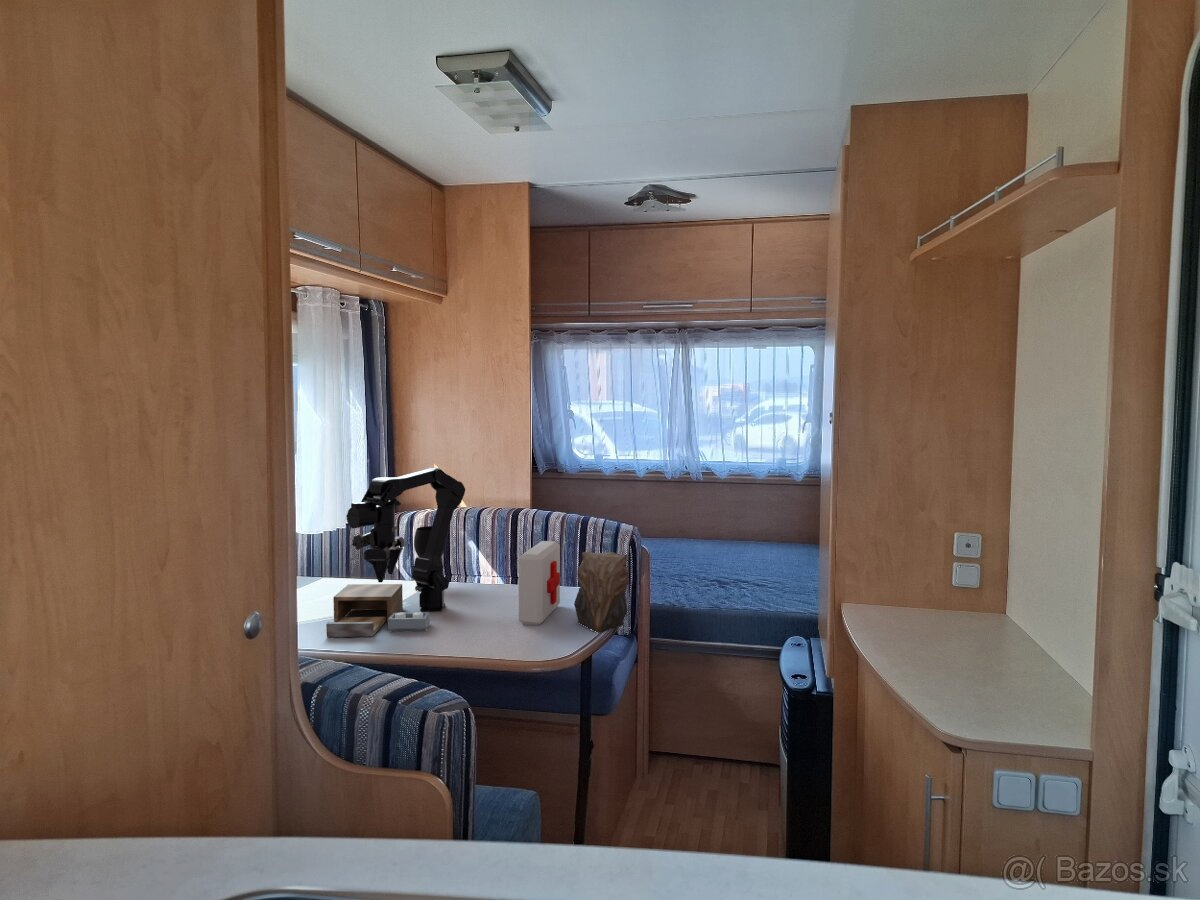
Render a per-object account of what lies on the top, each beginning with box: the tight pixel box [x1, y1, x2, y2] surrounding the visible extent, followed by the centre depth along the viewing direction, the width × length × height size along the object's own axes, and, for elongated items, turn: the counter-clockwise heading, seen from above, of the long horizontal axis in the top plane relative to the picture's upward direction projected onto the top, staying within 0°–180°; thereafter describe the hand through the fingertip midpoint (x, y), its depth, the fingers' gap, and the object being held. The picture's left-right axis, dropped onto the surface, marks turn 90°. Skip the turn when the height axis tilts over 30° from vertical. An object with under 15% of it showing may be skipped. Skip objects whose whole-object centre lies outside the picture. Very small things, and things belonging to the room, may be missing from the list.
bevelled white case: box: [517, 540, 561, 626], centre depth 219 cm, size 21×8×20 cm, turn 168°
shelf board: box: [325, 616, 387, 638], centre depth 206 cm, size 12×14×4 cm
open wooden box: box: [332, 583, 404, 624], centre depth 218 cm, size 16×14×8 cm
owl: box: [573, 551, 629, 634], centre depth 211 cm, size 13×13×20 cm
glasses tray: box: [387, 611, 431, 632], centre depth 207 cm, size 10×6×4 cm, turn 92°
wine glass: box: [413, 525, 447, 592], centre depth 249 cm, size 10×10×20 cm
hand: (385, 578), depth 212 cm, fingers open, 9 cm apart
